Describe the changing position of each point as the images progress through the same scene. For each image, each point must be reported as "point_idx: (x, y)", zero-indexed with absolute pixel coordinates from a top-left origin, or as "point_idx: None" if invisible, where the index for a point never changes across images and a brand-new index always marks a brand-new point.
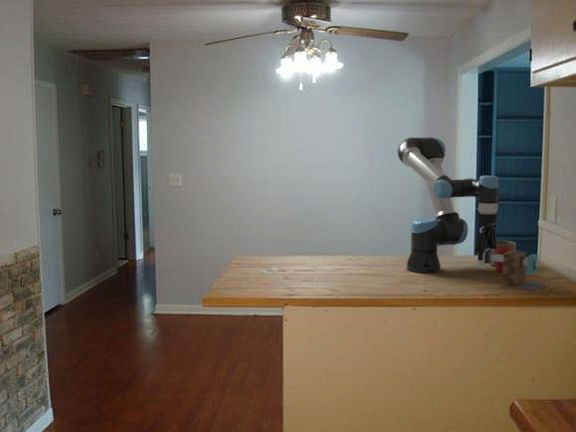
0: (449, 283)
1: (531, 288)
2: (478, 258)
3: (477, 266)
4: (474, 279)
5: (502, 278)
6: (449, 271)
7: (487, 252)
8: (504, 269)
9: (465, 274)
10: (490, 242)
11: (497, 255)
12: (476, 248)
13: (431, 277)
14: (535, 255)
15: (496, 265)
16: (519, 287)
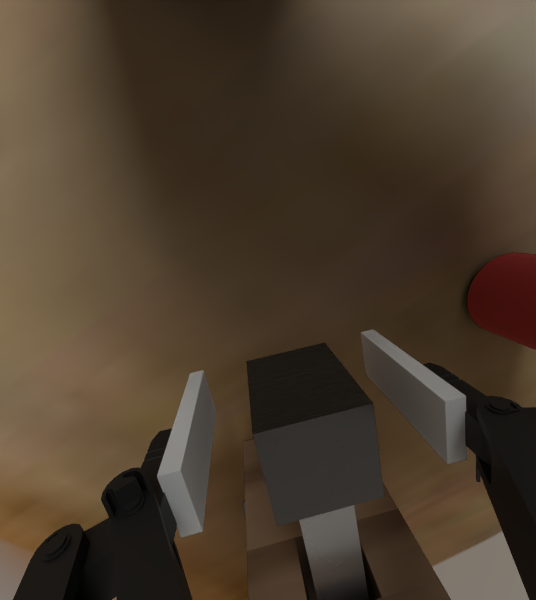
0: (19, 267)
1: None
2: (149, 447)
3: (189, 377)
4: (231, 298)
5: (244, 467)
6: (291, 47)
7: (271, 505)
8: (247, 527)
9: (298, 186)
10: (515, 530)
11: (310, 543)
12: (23, 590)
13: (26, 70)
14: None
15: (511, 273)
16: (245, 515)
